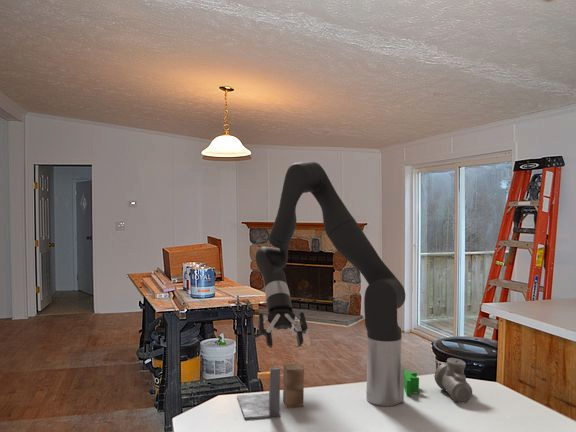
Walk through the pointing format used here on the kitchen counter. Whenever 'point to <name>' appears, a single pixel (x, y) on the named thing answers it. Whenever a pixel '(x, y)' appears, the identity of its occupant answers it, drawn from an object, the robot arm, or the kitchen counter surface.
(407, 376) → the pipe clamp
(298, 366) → the link block
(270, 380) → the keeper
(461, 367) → the pipe fitting
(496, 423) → the kitchen counter surface
